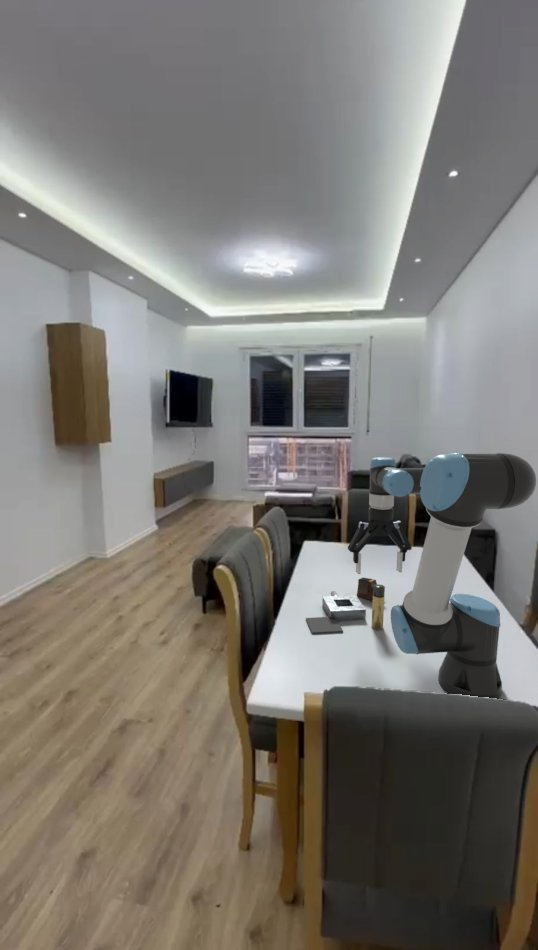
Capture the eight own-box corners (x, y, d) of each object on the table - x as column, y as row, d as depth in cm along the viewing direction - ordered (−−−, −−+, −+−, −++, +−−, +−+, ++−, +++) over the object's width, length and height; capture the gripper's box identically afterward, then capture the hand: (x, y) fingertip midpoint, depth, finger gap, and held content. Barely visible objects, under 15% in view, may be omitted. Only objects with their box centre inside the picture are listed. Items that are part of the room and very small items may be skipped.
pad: (342, 632, 151) (343, 630, 150) (312, 634, 149) (312, 632, 149) (334, 618, 160) (335, 616, 160) (305, 619, 159) (305, 617, 159)
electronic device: (378, 604, 171) (378, 584, 170) (356, 597, 178) (356, 577, 177) (384, 601, 174) (385, 581, 173) (362, 593, 181) (363, 574, 180)
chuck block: (365, 619, 160) (365, 609, 159) (330, 621, 158) (330, 611, 158) (348, 595, 179) (348, 586, 179) (317, 596, 178) (317, 587, 177)
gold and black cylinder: (384, 629, 152) (386, 588, 150) (373, 630, 152) (375, 589, 150) (380, 624, 156) (382, 584, 154) (370, 625, 155) (371, 584, 153)
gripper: (414, 503, 154) (411, 566, 157) (339, 505, 151) (337, 569, 154) (424, 508, 146) (421, 574, 150) (345, 510, 143) (343, 577, 147)
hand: (378, 571), depth 152 cm, fingers open, 13 cm apart
